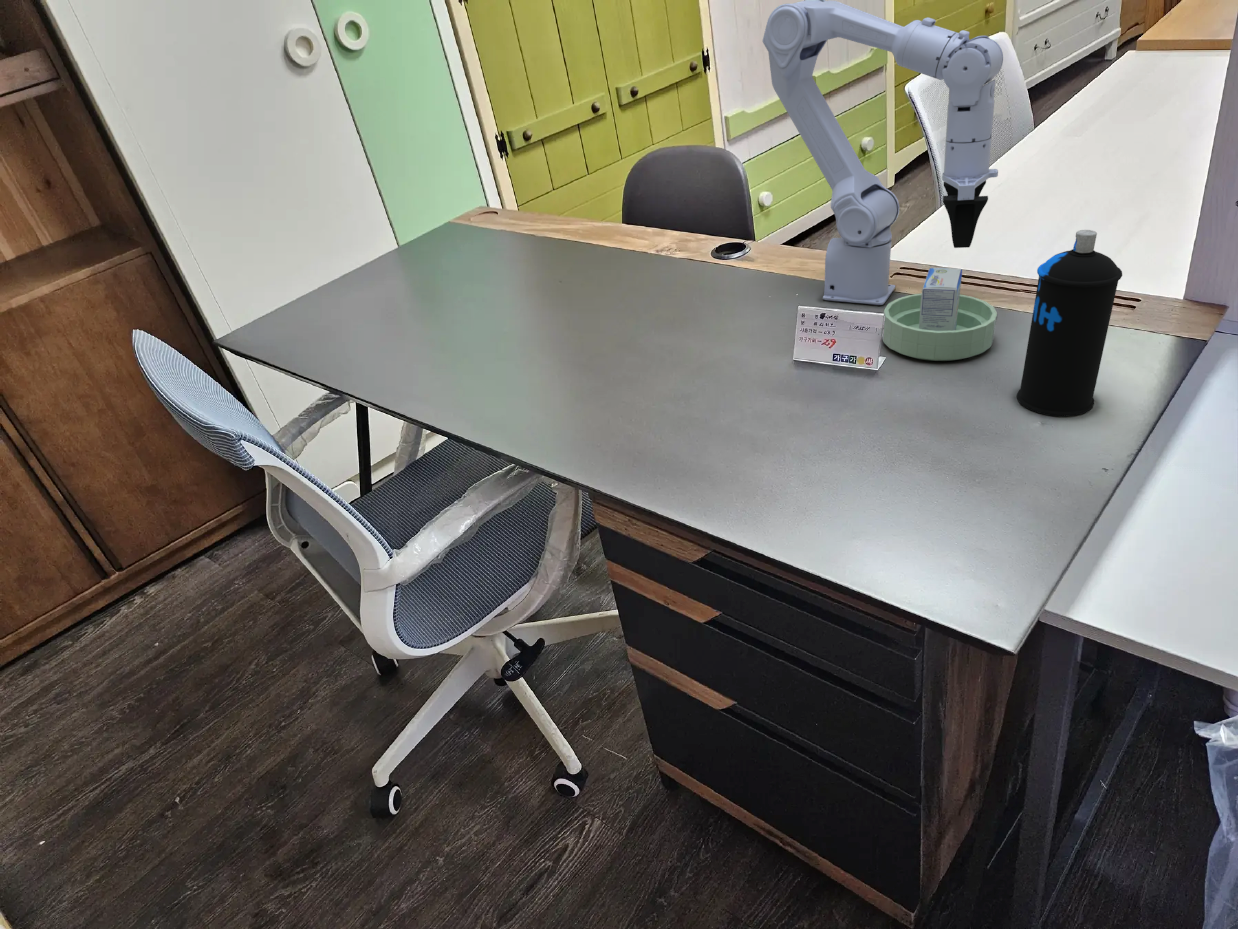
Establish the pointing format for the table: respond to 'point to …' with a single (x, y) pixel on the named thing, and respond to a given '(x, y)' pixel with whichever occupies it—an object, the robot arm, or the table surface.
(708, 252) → the table surface
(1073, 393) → the aerosol can
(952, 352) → the bowl
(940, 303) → the medicine box
